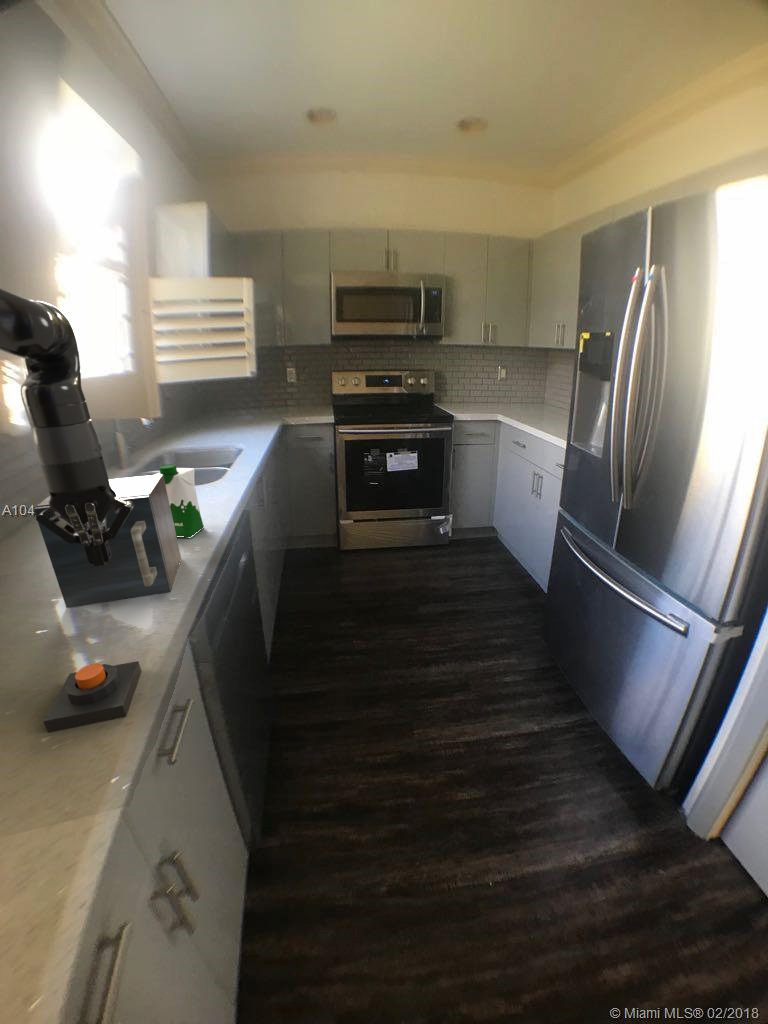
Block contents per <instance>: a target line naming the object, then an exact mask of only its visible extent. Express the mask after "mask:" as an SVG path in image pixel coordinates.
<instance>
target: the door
mask: <svg viewBox="0 0 768 1024" xmlns="http://www.w3.org/2000/svg"><path fill="white" fill-rule="evenodd" d="M120 499H122V500H124V501H126V502H127V501H132V502H133V503H134V507H133V509H132V510H131V512H130V514H129V515H128V517H127V519H126V520H125V522H124V524H123V525H122V527H121V529H120V530H119V532H118V533H117V534H116V536H115V537H114V538H113V539H109V540H108V544H109V547H110V551H111V554H112V555H111V559H110V560H109V562H108V563H107V565H106V566H100V567H94V565H93V564H90V563H89V561H88V558H87V555H86V551H85V548H84V546H83V545H82V544H79V543H73V544H70V543H68V542H66V541H65V540H64V539H62V538H61V537H59V536H58V535H56V534H55V533H53V532H52V531H51V530H49V529H48V528H46V527H45V526H43V525H42V524H40V523H39V522H38V521H37V524H38V527H39V531H40V533H41V536H42V538H43V542H44V545H45V548H46V551H47V554H48V557H49V560H50V563H51V566H52V569H53V572H54V575H55V578H56V581H57V584H58V587H59V590H60V594H61V596H62V599H63V602H64V605H65V608H72V607H81V606H85V605H87V606H88V605H92V604H93V605H94V604H100V603H106V602H111V601H119V600H125V599H132V598H139V597H145V596H153V595H159V594H165V593H171V591H172V589H171V586H170V582H169V577H168V573H167V569H166V564H165V560H164V556H163V551H162V547H161V543H160V538H159V534H158V530H157V526H156V521H155V517H154V513H153V508H152V504H151V500H150V496H149V495H148V496H139V497H129V498H120ZM48 507H49V506H44V507H36V506H35V507H34V508H33V511H34V515H35V518H36V517H37V516H38V515H39V514H40V513H42V512H43V511H44V510H46V509H47V508H48ZM114 509H115V507H114V505H112V507H111V509H110V511H109V513H108V515H107V516H106V528H107V529H109V528H110V527H111V525H112V523H113V522H114V520H115V518H116V517H117V514H116V513H115V512H114ZM61 518H62V519H64V520H65V521H66V522H68V523H69V524H71V525H72V523H71V522H70V521H68V520H67V519H66V518H64V517H63V516H62V515H61ZM72 526H73V525H72Z"/></svg>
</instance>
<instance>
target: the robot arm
mask: <svg viewBox="0 0 768 1024" xmlns="http://www.w3.org/2000/svg"><path fill="white" fill-rule="evenodd" d="M0 351H2V352H3V353H7V354H9V355H12V356H15V357H18V358H21V359H22V362H23V366H24V371H25V372H24V373H25V380H24V382H23V383H22V384H21V386H20V397H21V401H22V404H23V408H24V411H25V413H26V417H27V421H28V424H29V426H30V431H31V439H32V443H33V448H34V450H35V454H36V456H37V460H38V463H39V467H40V469H41V472H42V477H43V479H44V482H45V485H46V488H47V491H48V492H49V496H50V499H49V505H50V506H49V507H48V508H47V509H46V510H44V511H43V512H42V513H40V514H39V515H38V516H37V517H36V516H35V520H36V522H37V523H38V522H39V523H40V524H42V525H43V526H45V527H46V528H48V529H49V530H51V531H52V532H53V533H55V534H56V535H58V536H59V537H61V538H62V539H64V540H65V541H66V542H68V543H70V544H73V543H79V544H82V545H83V546H84V548H85V551H86V555H87V558H88V561H89V563H90V564H93V565H94V567H100V566H106V565H107V563H108V562H109V560H110V559H111V555H112V554H111V551H110V547H109V544H108V540H109V539H113V538H114V537H115V536H116V534H117V533H118V532H119V530H120V529H121V527H122V525H123V524H124V522H125V520H126V519H127V517H128V515H129V514H130V512H131V510H132V509H133V507H134V503H133V502H132V501H127V502H126V501H124V500H122V499H120V498H117V497H116V493H115V491H114V490H113V489H112V488H111V486H110V483H109V479H110V478H109V476H108V472H107V468H106V464H105V461H104V460H105V459H104V457H103V452H102V445H101V443H100V440H99V438H98V434H97V432H96V430H95V427H94V424H93V422H92V419H91V415H90V411H89V408H88V404H87V400H86V397H85V393H84V391H83V388H82V371H81V361H80V351H79V345H78V339H77V335H76V333H75V330H74V328H73V325H72V323H71V321H70V319H69V318H68V317H67V316H66V314H64V312H63V311H62V310H60V309H59V308H58V307H56V306H54V305H52V304H50V303H47V302H44V301H41V300H34V299H28V298H25V297H22V296H21V295H17V294H15V293H12V292H9V291H7V290H5V289H3V288H0ZM112 505H114V507H115V509H114V512H115V513H116V514H117V517H116V518H115V520H114V522H113V523H112V525H111V527H110V528H109V529H107V528H106V516H107V515H108V513H109V511H110V509H111V507H112ZM61 515H62V516H63V517H64V518H66V519H67V520H68V521H70V522H71V523H72V525H73V526H72V525H71V524H69V523H68V522H66V521H65V520H64V519H62V518H61Z"/></svg>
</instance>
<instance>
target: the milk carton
mask: <svg viewBox="0 0 768 1024" xmlns="http://www.w3.org/2000/svg"><path fill="white" fill-rule="evenodd" d="M158 468H159V472H157V473H154V475H160V474H163V476H164V481H165V485H166V490H167V495H168V499H169V504H170V508H171V513H172V518H173V522H174V527H175V532H176V536H184V537H191V536H192V535H194V534H195V533H196V532H198V531H199V530H200V529H202V528H203V527H204V528H205V525H204V521H203V519H202V516H201V511H200V506H199V501H198V496H197V495H198V494H197V491H196V484H195V468H194V467H177V465H176V464H173V463H172V464H163V465H161V466H159V467H158Z"/></svg>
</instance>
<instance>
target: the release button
mask: <svg viewBox="0 0 768 1024" xmlns="http://www.w3.org/2000/svg"><path fill="white" fill-rule="evenodd" d="M105 678H106V674H105V671H104V668H103V666H102V664H101V663H90V664H88V665H85V666H83V667H81V668H80V669H79V670H77V673H76V675H75V679H76V682H77V685H78V687H79V688H80V689H89V688H92V687H95V686H97V685H99V684H100V683H102V682H103V681H104V680H105Z"/></svg>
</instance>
